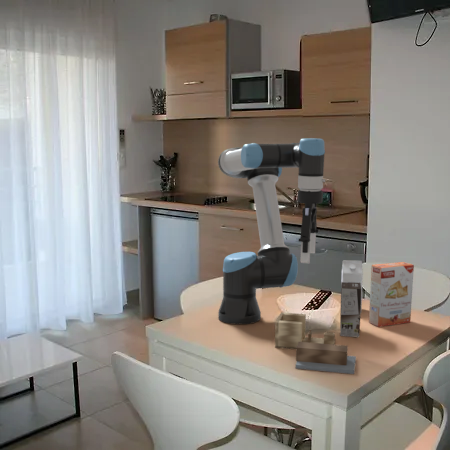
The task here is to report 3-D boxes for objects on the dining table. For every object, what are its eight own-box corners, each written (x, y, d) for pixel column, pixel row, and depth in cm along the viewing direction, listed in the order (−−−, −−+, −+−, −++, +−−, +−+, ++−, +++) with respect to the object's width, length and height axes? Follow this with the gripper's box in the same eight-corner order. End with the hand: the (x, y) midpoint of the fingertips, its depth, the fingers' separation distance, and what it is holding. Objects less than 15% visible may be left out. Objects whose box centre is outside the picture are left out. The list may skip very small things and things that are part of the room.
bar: (296, 360, 168) (296, 347, 167) (298, 354, 172) (298, 341, 172) (346, 365, 164) (346, 351, 164) (347, 359, 169) (347, 345, 168)
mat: (295, 368, 165) (295, 364, 165) (300, 354, 175) (300, 351, 175) (354, 374, 161) (354, 370, 161) (355, 359, 171) (355, 356, 171)
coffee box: (360, 337, 191) (361, 288, 188) (339, 336, 192) (341, 287, 189) (359, 328, 199) (361, 282, 197) (340, 327, 201) (341, 281, 198)
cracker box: (379, 328, 200) (381, 267, 197) (368, 323, 206) (370, 264, 203) (411, 323, 206) (414, 264, 203) (400, 318, 211) (402, 260, 208)
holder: (274, 347, 182) (275, 322, 180) (280, 336, 192) (280, 312, 191) (332, 352, 177) (333, 326, 176) (335, 340, 187) (335, 316, 186)
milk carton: (340, 307, 225) (342, 258, 222) (359, 308, 224) (361, 259, 221) (341, 312, 218) (343, 262, 215) (361, 313, 217) (363, 262, 214)
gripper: (318, 195, 166) (315, 268, 170) (327, 185, 190) (324, 250, 194) (291, 194, 168) (289, 266, 172) (303, 184, 192) (301, 248, 196)
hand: (308, 257), depth 183 cm, fingers open, 13 cm apart
